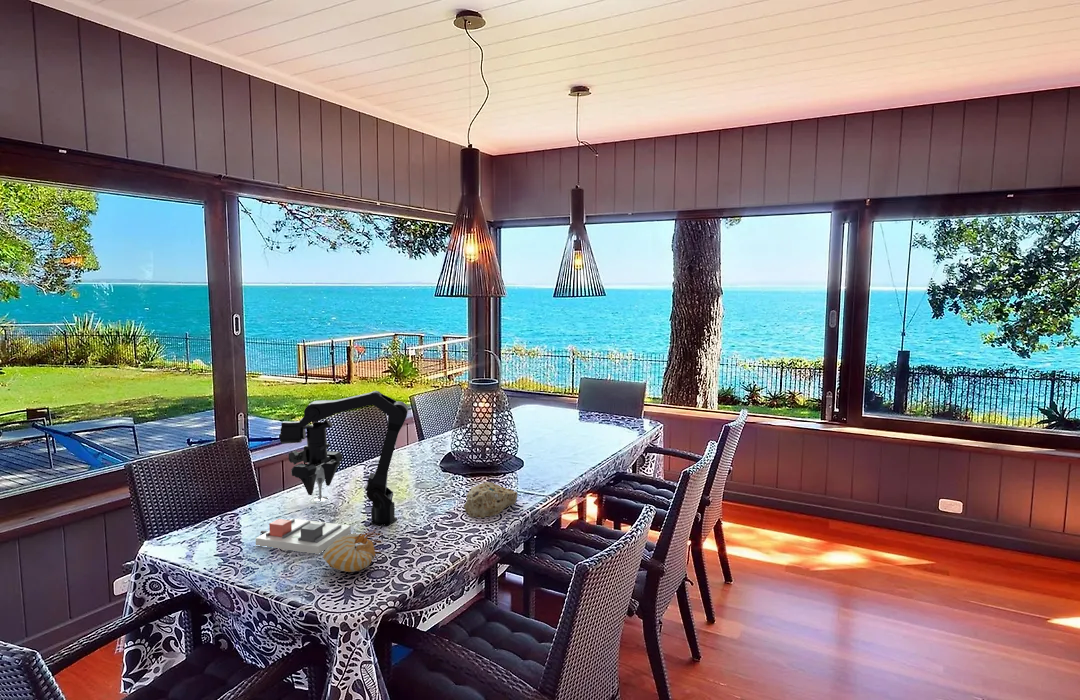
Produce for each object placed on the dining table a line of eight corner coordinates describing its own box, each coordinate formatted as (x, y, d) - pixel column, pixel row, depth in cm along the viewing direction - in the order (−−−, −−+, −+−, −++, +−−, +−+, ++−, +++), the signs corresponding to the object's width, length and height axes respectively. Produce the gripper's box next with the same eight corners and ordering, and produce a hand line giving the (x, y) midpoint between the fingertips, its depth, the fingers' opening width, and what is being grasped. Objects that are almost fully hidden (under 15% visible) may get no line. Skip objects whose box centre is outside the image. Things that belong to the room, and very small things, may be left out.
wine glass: (307, 504, 207) (306, 462, 205) (309, 497, 214) (308, 456, 213) (331, 502, 209) (330, 461, 207) (333, 495, 216) (332, 455, 215)
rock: (483, 499, 217) (490, 473, 216) (517, 514, 211) (525, 488, 210) (453, 511, 198) (461, 483, 197) (490, 529, 192) (498, 500, 191)
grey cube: (322, 536, 173) (322, 524, 173) (314, 542, 170) (313, 530, 169) (309, 534, 174) (309, 523, 174) (300, 540, 171) (300, 528, 170)
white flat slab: (350, 533, 182) (350, 523, 182) (318, 554, 167) (318, 543, 167) (278, 524, 189) (278, 514, 189) (241, 544, 174) (241, 533, 174)
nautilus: (368, 545, 175) (406, 559, 168) (307, 569, 156) (348, 586, 149) (370, 519, 175) (408, 532, 167) (309, 540, 156) (350, 555, 149)
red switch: (291, 531, 177) (291, 520, 176) (282, 536, 173) (282, 525, 173) (279, 530, 178) (278, 518, 178) (269, 535, 174) (269, 523, 174)
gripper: (312, 433, 197) (315, 479, 198) (274, 447, 179) (277, 498, 180) (342, 435, 194) (344, 481, 195) (306, 449, 176) (309, 501, 177)
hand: (319, 490), depth 187 cm, fingers open, 9 cm apart
